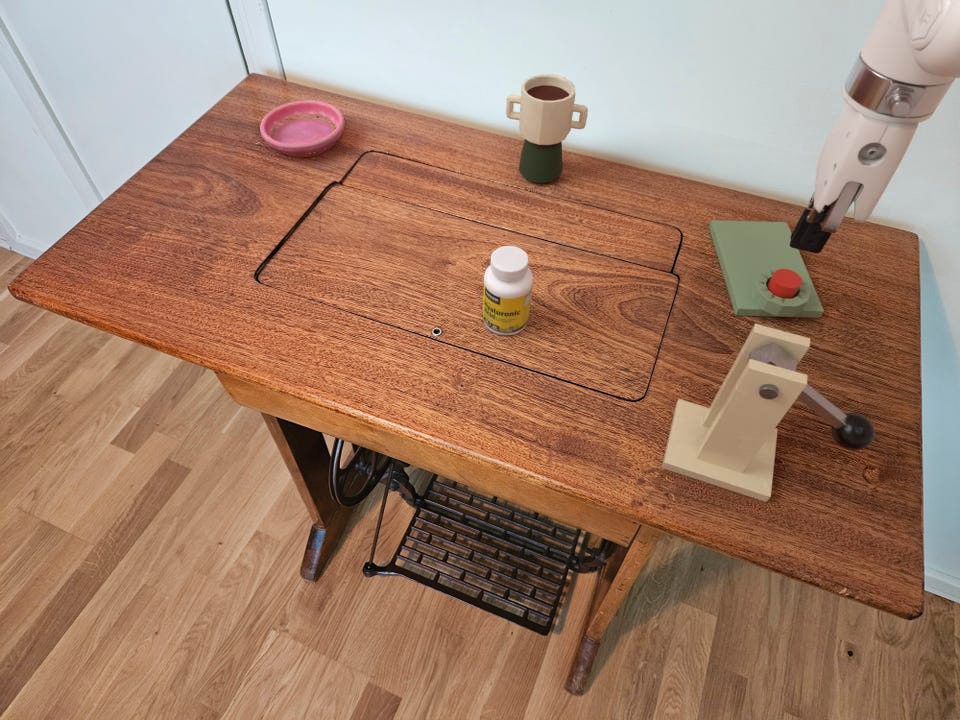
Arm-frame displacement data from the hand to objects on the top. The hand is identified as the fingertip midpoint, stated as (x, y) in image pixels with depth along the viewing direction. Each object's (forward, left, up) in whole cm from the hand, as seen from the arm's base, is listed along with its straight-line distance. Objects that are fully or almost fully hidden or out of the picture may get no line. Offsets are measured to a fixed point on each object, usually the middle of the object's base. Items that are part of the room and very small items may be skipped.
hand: (804, 245), depth 67 cm
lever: (-12, +20, +1) cm, 23 cm away
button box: (+4, -4, -9) cm, 11 cm away
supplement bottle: (+17, +27, -9) cm, 34 cm away
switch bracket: (-9, +22, -9) cm, 25 cm away
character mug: (+36, +5, -9) cm, 38 cm away
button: (0, 0, -7) cm, 6 cm away
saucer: (+64, +28, -9) cm, 71 cm away
